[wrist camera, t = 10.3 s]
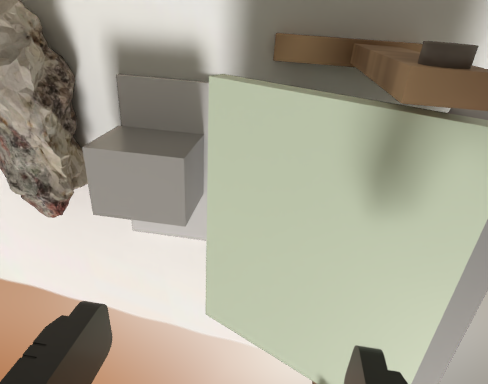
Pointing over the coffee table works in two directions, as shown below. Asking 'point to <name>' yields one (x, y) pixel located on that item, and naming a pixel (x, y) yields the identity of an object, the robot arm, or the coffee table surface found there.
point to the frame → (399, 67)
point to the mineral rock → (36, 115)
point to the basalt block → (145, 174)
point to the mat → (170, 119)
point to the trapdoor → (344, 226)
